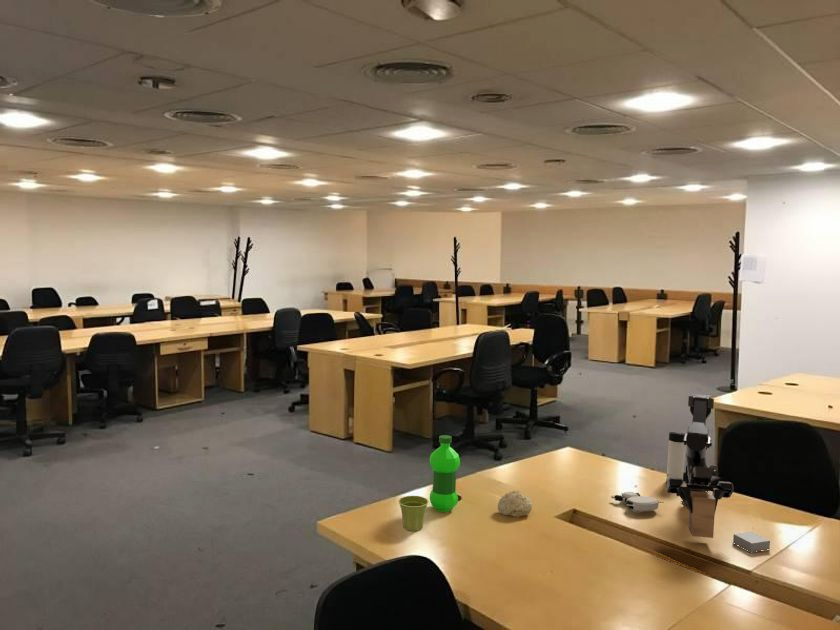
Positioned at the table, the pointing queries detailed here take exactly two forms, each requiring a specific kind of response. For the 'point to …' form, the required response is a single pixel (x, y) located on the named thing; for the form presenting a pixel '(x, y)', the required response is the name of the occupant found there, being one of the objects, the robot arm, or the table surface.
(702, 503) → the walnut block
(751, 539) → the base slab
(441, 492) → the plastic bottle
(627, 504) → the robot toy
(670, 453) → the travel mug
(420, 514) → the plant pot
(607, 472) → the table surface
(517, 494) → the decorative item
